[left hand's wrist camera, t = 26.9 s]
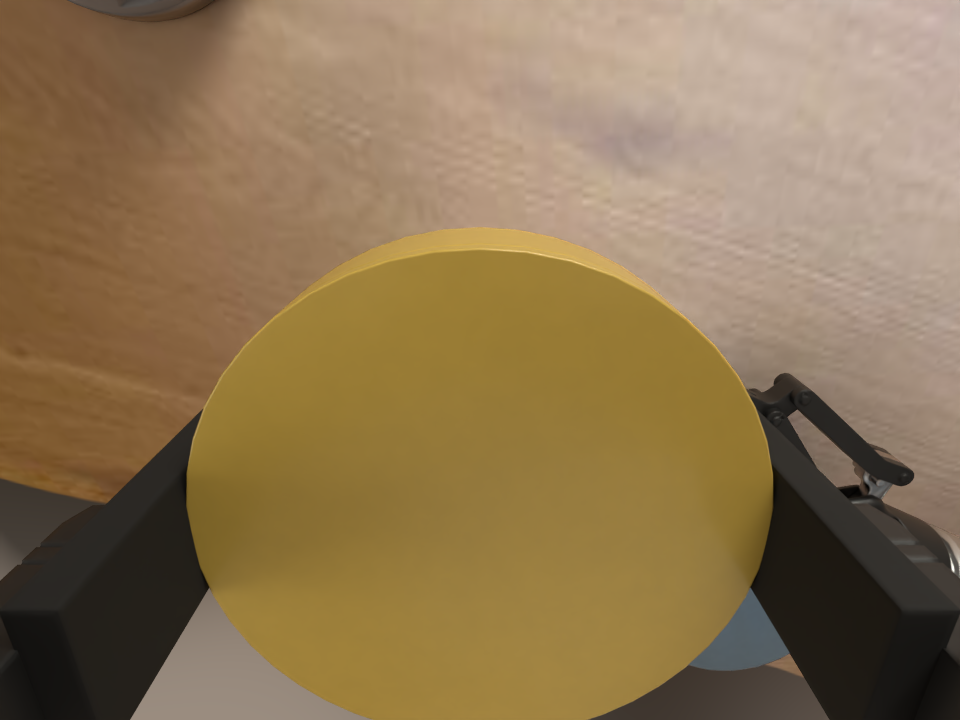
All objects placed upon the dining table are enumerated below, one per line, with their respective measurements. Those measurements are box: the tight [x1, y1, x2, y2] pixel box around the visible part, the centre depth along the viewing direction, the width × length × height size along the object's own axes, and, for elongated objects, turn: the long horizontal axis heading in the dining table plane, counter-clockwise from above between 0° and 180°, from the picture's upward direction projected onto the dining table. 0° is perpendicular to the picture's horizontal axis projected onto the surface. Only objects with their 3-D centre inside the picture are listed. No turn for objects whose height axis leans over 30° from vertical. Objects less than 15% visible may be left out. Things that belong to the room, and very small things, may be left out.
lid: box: [186, 227, 773, 720], centre depth 12 cm, size 11×11×2 cm
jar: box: [689, 588, 790, 671], centre depth 33 cm, size 10×10×17 cm
